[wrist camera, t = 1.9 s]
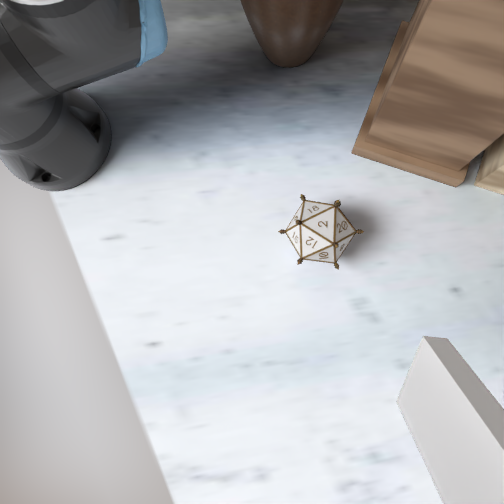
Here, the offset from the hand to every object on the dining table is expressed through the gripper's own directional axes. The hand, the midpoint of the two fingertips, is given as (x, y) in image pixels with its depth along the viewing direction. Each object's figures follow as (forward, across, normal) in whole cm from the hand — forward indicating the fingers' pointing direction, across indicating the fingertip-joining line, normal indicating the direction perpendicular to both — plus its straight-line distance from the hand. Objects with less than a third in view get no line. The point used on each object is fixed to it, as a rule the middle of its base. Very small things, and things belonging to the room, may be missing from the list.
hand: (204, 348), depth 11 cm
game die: (+33, +11, -9) cm, 36 cm away
